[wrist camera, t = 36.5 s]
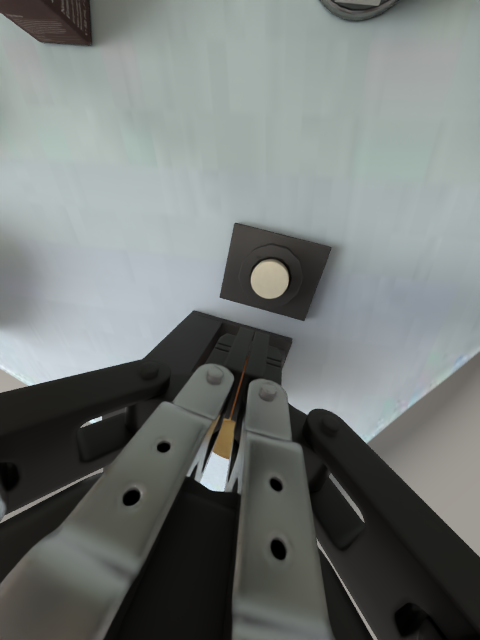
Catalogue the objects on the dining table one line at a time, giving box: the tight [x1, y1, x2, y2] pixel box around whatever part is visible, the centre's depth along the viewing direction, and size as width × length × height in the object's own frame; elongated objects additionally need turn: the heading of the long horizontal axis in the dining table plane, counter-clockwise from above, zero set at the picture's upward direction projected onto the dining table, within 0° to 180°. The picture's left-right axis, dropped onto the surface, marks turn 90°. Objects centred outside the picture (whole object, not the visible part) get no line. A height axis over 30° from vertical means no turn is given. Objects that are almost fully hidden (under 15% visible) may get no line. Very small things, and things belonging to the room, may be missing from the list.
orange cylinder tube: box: [213, 355, 248, 459], centre depth 28 cm, size 5×5×12 cm
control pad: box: [220, 223, 331, 321], centre depth 28 cm, size 11×9×3 cm
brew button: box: [251, 259, 289, 299], centre depth 26 cm, size 4×4×2 cm
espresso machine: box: [102, 311, 292, 472], centre depth 26 cm, size 14×11×18 cm
